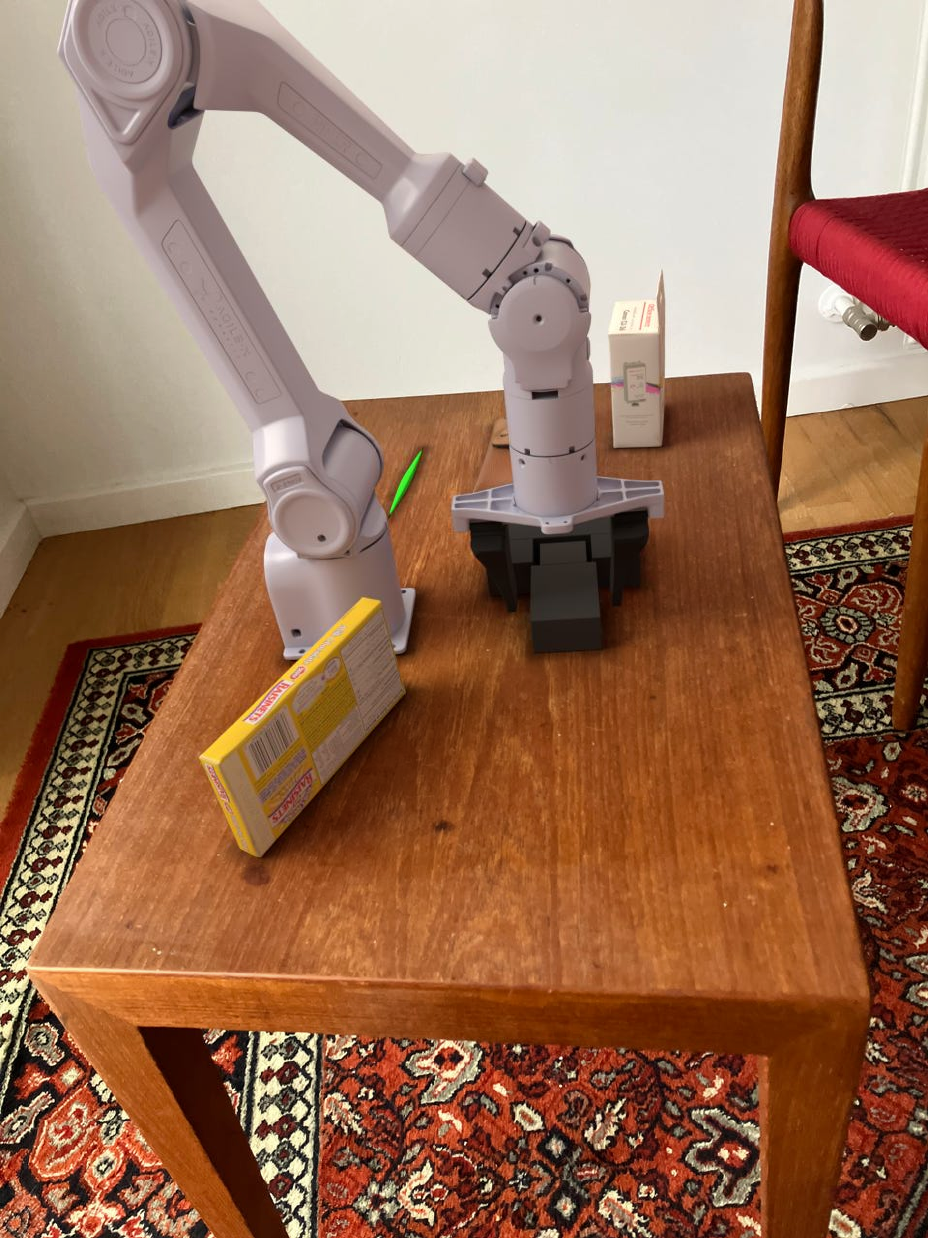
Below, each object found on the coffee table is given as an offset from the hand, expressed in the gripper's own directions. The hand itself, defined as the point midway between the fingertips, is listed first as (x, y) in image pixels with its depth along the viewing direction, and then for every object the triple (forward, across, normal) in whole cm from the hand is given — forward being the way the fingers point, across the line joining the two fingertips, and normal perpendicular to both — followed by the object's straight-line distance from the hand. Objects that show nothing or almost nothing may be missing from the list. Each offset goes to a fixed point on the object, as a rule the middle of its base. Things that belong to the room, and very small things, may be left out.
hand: (563, 601), depth 70 cm
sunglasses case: (+2, -4, +26) cm, 26 cm away
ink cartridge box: (+2, +8, +31) cm, 32 cm away
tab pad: (+2, 0, +1) cm, 2 cm away
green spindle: (+3, -15, +24) cm, 28 cm away
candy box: (+2, -16, -14) cm, 21 cm away
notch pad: (+2, 0, +8) cm, 8 cm away
